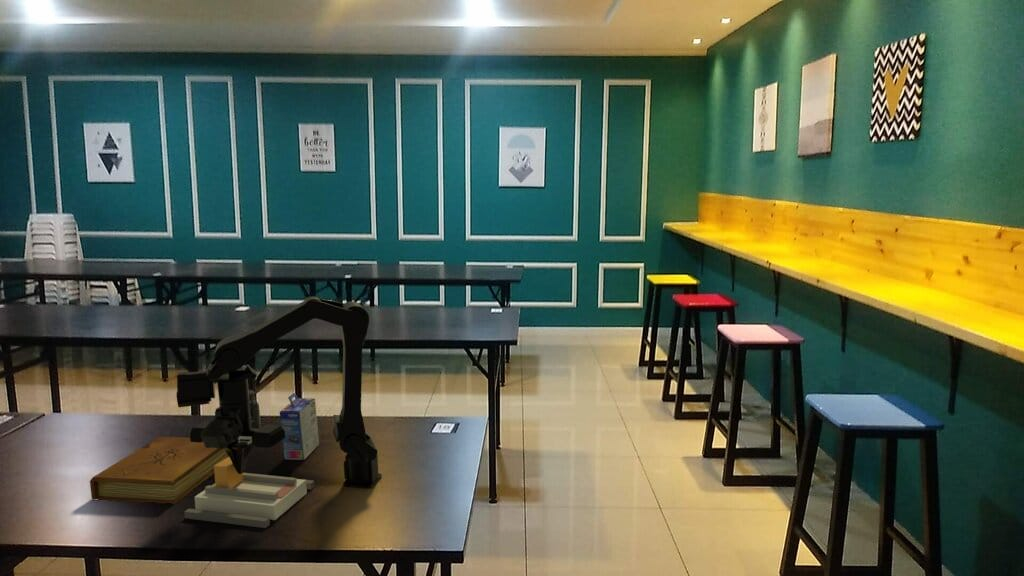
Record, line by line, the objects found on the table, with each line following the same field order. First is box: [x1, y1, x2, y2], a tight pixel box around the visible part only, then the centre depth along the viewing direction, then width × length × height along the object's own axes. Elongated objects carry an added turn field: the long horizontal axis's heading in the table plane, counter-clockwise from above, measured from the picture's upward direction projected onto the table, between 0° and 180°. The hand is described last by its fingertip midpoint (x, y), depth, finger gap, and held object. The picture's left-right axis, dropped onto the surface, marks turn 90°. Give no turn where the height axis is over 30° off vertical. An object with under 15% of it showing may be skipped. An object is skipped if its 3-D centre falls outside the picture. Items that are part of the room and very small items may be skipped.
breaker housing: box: [194, 472, 308, 521], centre depth 146 cm, size 18×12×4 cm, turn 76°
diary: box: [89, 436, 229, 505], centre depth 158 cm, size 23×19×6 cm
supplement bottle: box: [249, 389, 262, 429], centre depth 181 cm, size 7×7×12 cm
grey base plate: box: [183, 478, 315, 529], centre depth 146 cm, size 18×18×1 cm
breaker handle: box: [214, 456, 244, 488], centre depth 147 cm, size 3×5×5 cm, turn 166°
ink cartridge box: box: [279, 392, 320, 461], centre depth 171 cm, size 10×6×14 cm, turn 174°
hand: (240, 473), depth 146 cm, fingers closed
